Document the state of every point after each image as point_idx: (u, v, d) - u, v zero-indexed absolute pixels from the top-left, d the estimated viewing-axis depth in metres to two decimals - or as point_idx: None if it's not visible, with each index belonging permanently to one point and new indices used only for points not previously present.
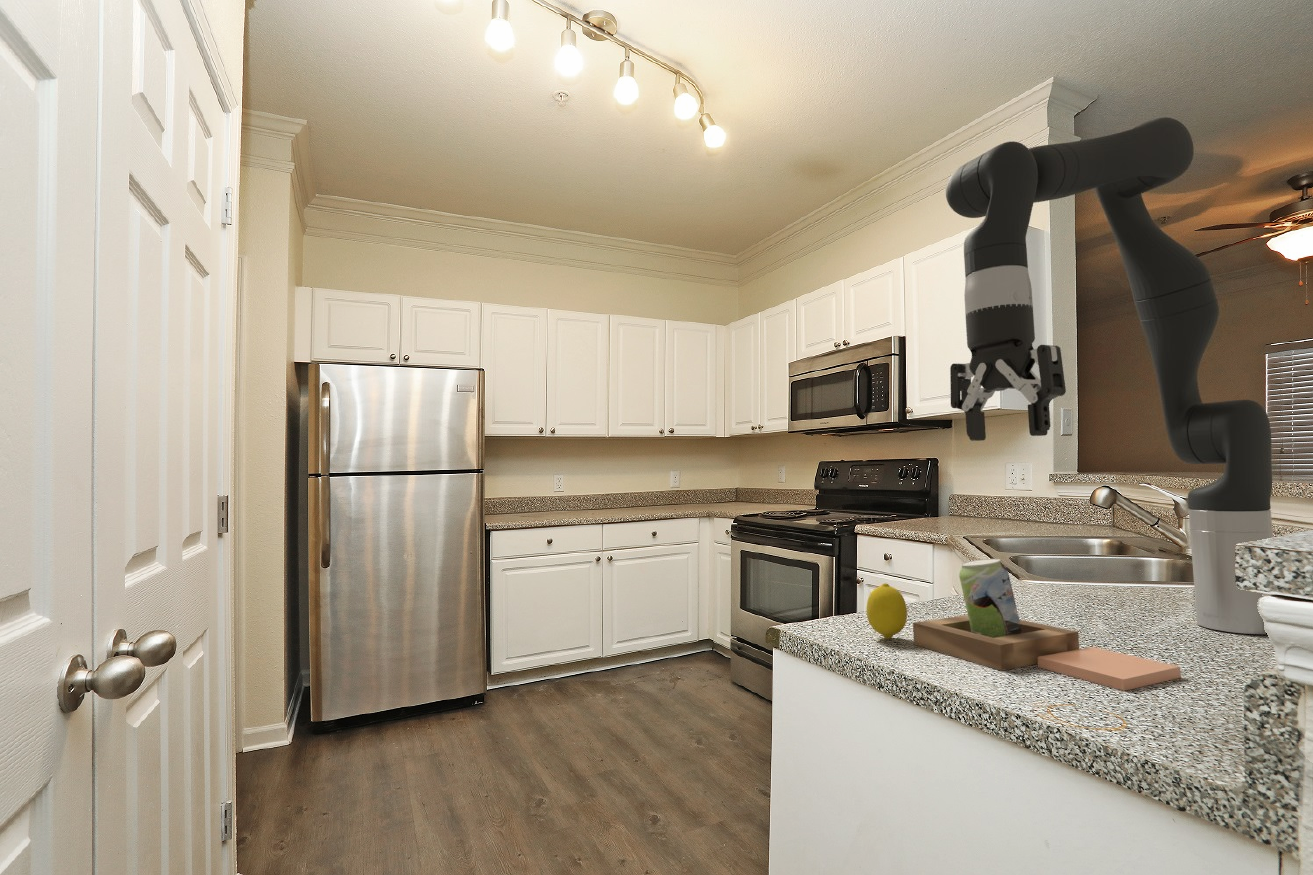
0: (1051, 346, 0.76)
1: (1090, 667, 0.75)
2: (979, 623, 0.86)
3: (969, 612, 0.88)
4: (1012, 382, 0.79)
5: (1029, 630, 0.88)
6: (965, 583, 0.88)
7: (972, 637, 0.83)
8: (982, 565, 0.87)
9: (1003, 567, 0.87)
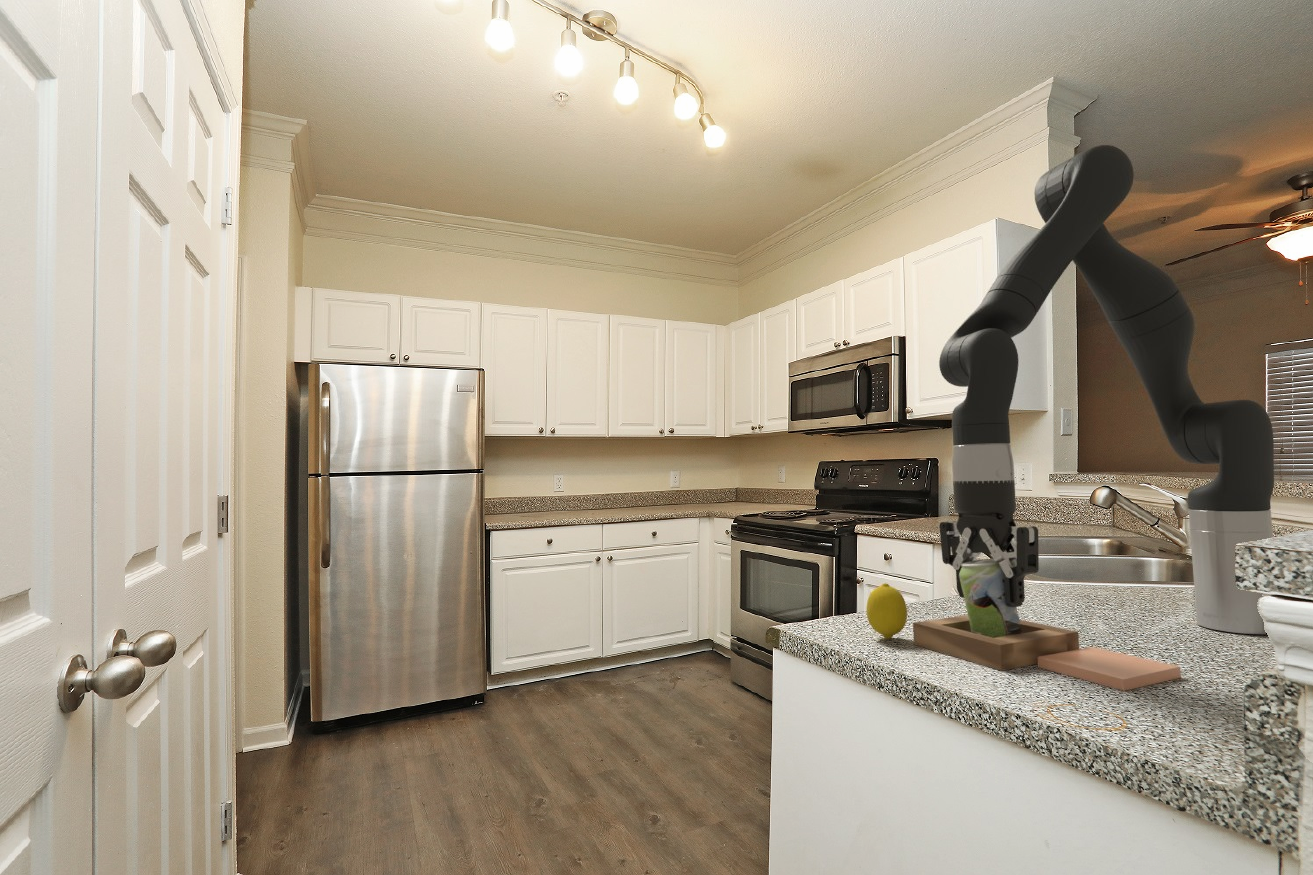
0: (1030, 528, 0.83)
1: (1090, 667, 0.75)
2: (979, 623, 0.86)
3: (969, 612, 0.88)
4: (992, 553, 0.86)
5: (1029, 630, 0.88)
6: (965, 583, 0.88)
7: (972, 637, 0.83)
8: (982, 565, 0.87)
9: None
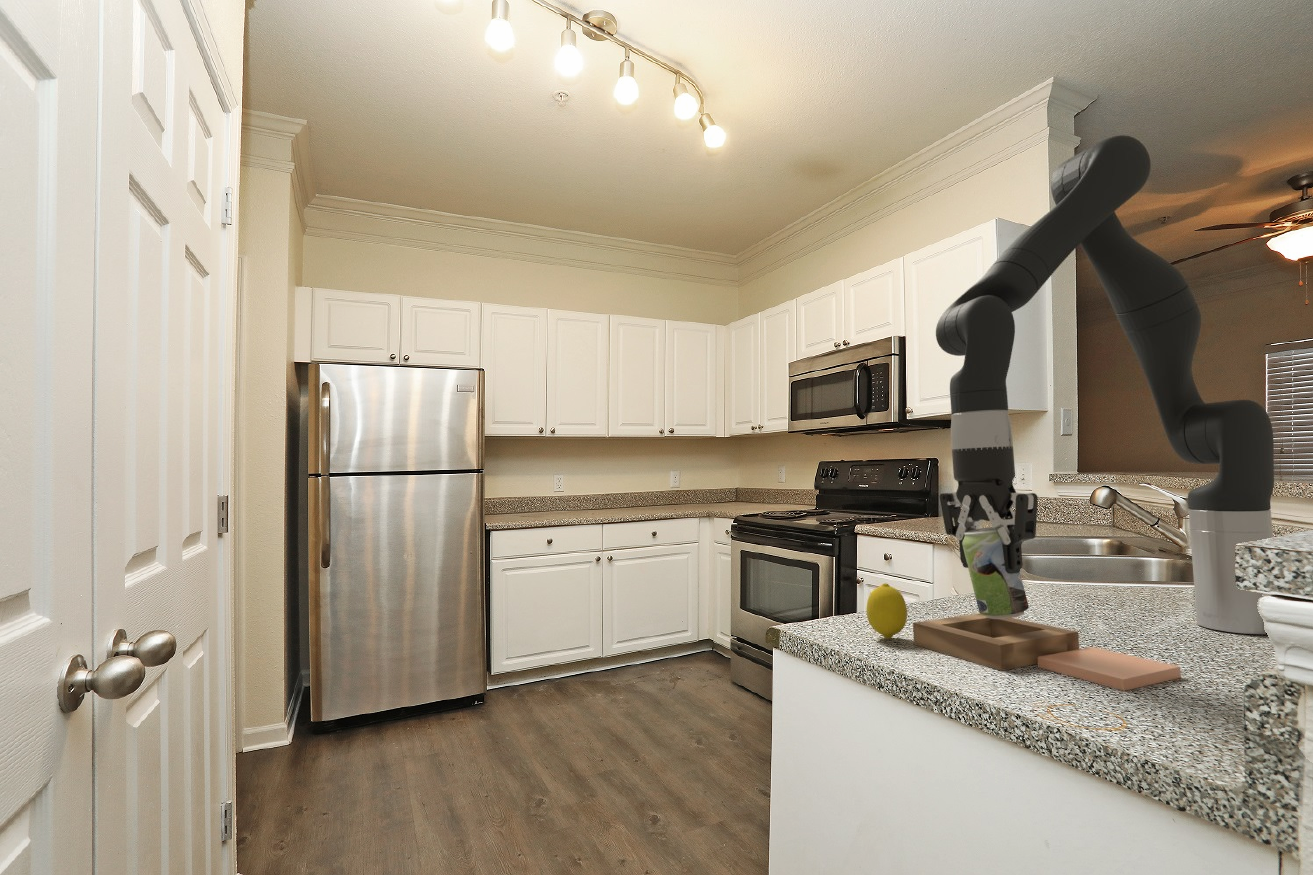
0: (1029, 495, 0.83)
1: (1090, 667, 0.75)
2: (984, 590, 0.86)
3: (973, 580, 0.88)
4: (991, 520, 0.86)
5: (1029, 630, 0.88)
6: (969, 552, 0.88)
7: (972, 637, 0.83)
8: (985, 533, 0.86)
9: None
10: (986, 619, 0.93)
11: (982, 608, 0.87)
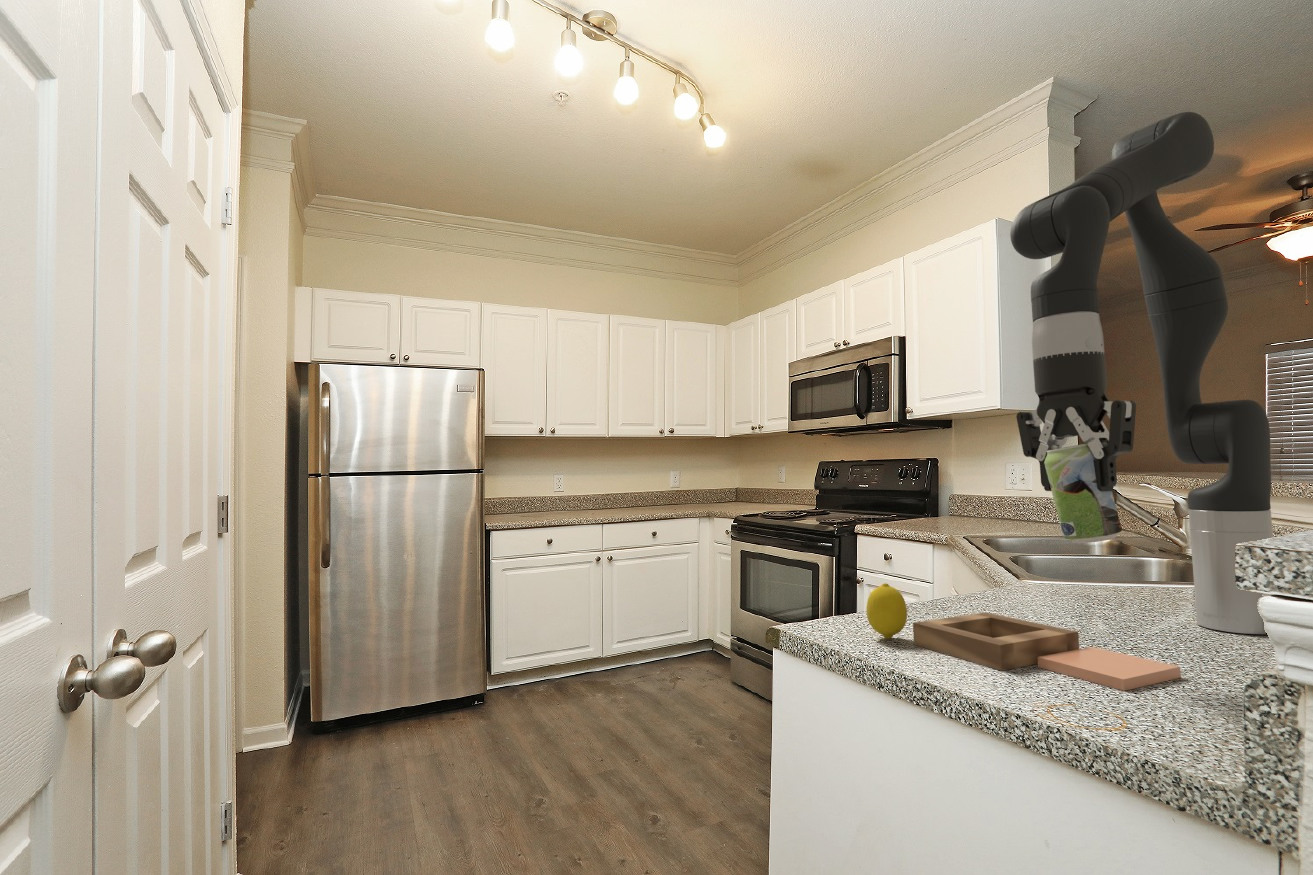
0: (1127, 402, 0.74)
1: (1090, 667, 0.75)
2: (1071, 511, 0.78)
3: (1058, 501, 0.80)
4: (1080, 433, 0.78)
5: (1029, 630, 0.88)
6: (1054, 469, 0.79)
7: (972, 637, 0.83)
8: (1073, 447, 0.78)
9: None
10: (986, 619, 0.93)
11: (1068, 532, 0.79)
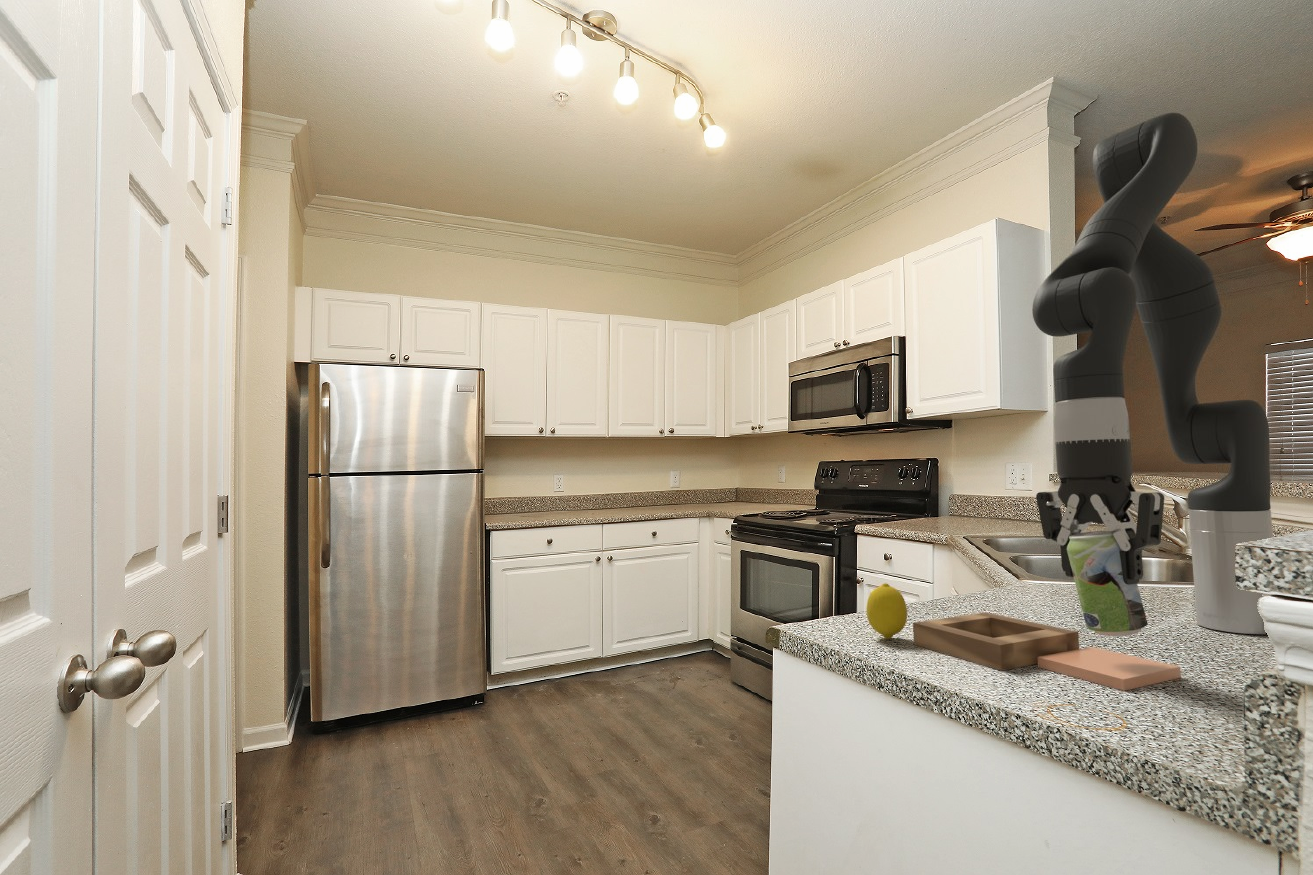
0: (1156, 495, 0.72)
1: (1090, 667, 0.75)
2: (1095, 603, 0.76)
3: (1081, 591, 0.77)
4: (1105, 522, 0.76)
5: (1029, 630, 0.88)
6: (1077, 558, 0.77)
7: (972, 637, 0.83)
8: (1098, 537, 0.76)
9: None
10: (986, 619, 0.93)
11: (1092, 623, 0.76)
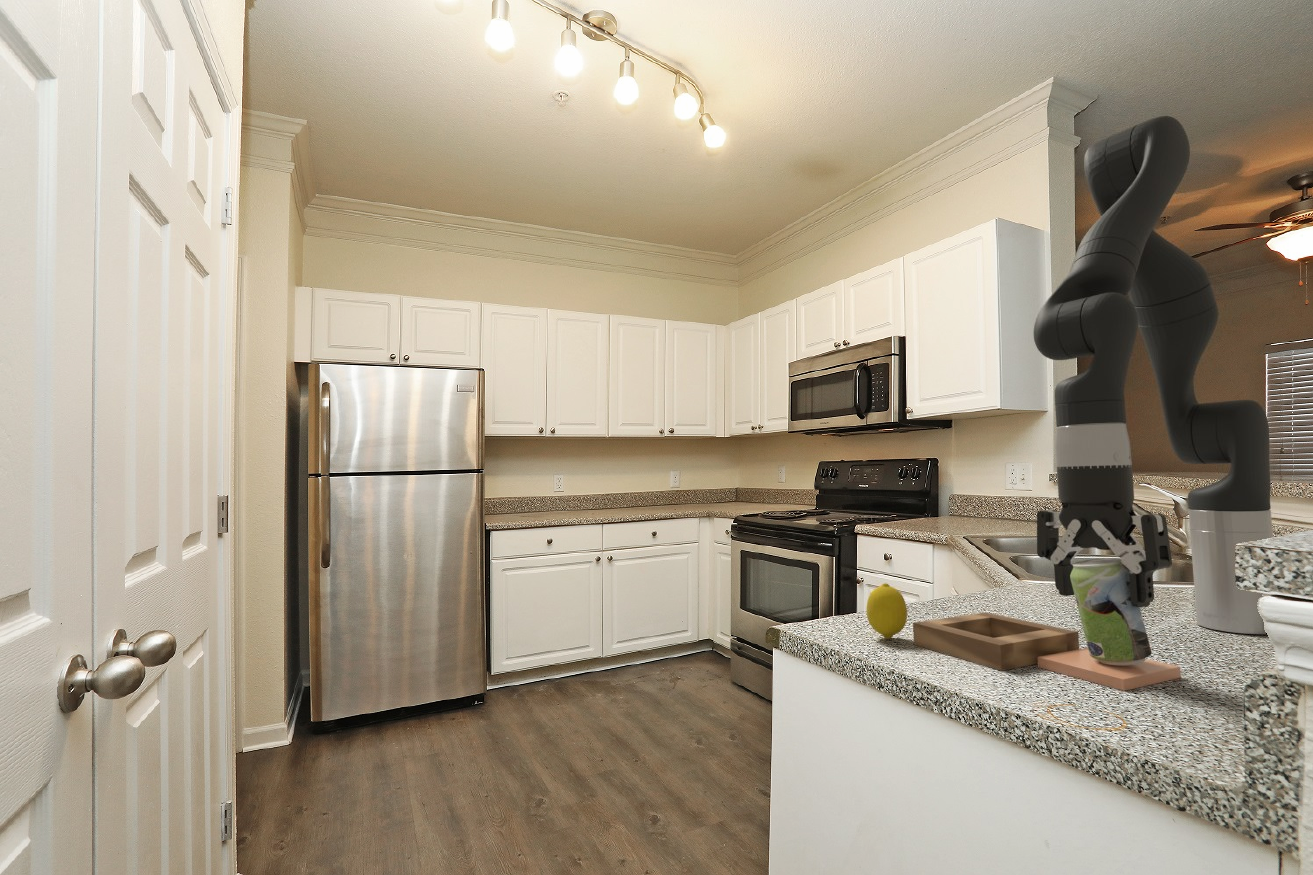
0: (1157, 516, 0.72)
1: (1090, 667, 0.75)
2: (1099, 632, 0.75)
3: (1085, 619, 0.77)
4: (1111, 547, 0.75)
5: (1029, 630, 0.88)
6: (1081, 587, 0.77)
7: (972, 637, 0.83)
8: (1101, 565, 0.75)
9: (1125, 567, 0.76)
10: (986, 619, 0.93)
11: (1096, 652, 0.76)
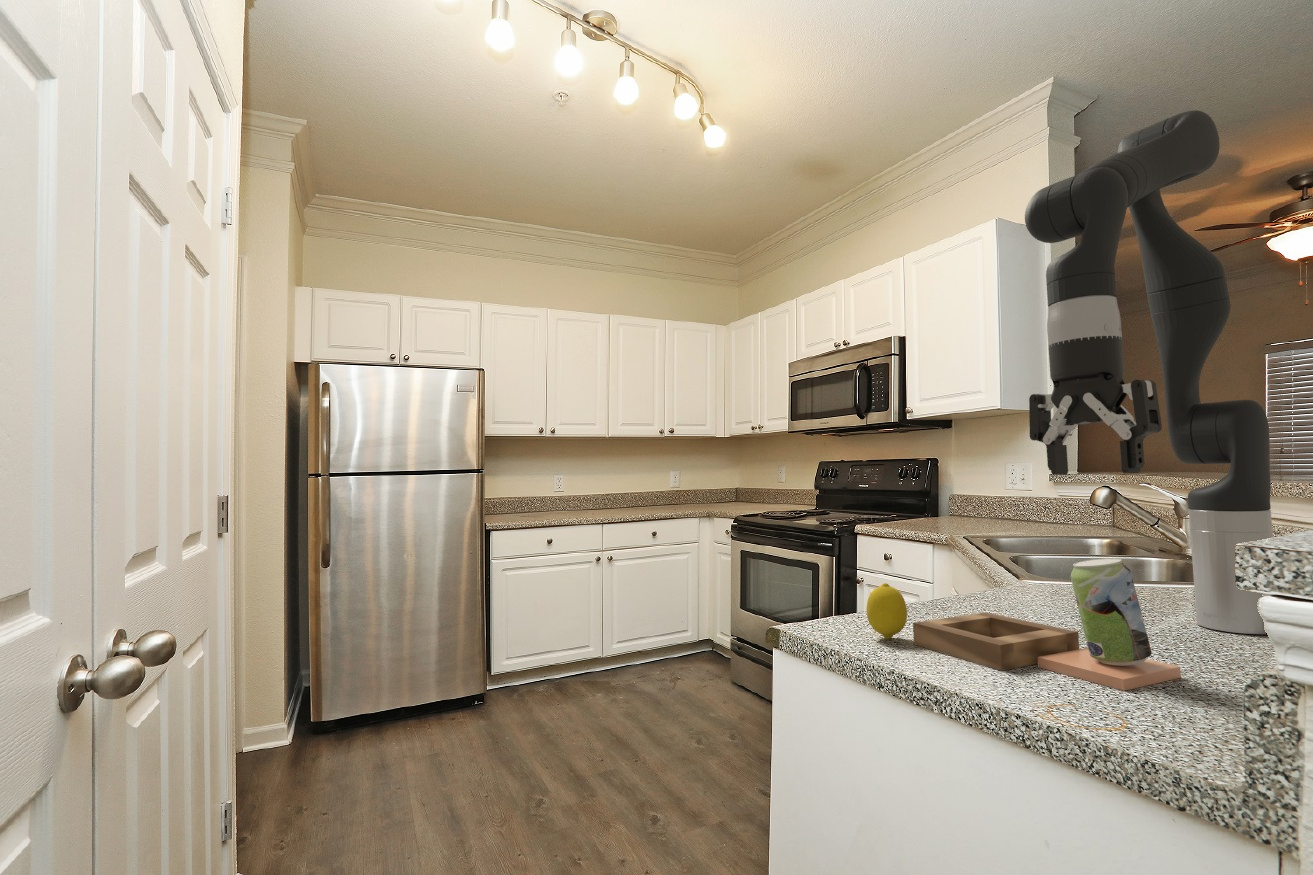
0: (1146, 381, 0.73)
1: (1090, 667, 0.75)
2: (1099, 632, 0.75)
3: (1085, 619, 0.77)
4: (1102, 417, 0.76)
5: (1029, 630, 0.88)
6: (1081, 587, 0.77)
7: (972, 637, 0.83)
8: (1102, 565, 0.75)
9: (1126, 568, 0.76)
10: (986, 619, 0.93)
11: (1096, 652, 0.76)
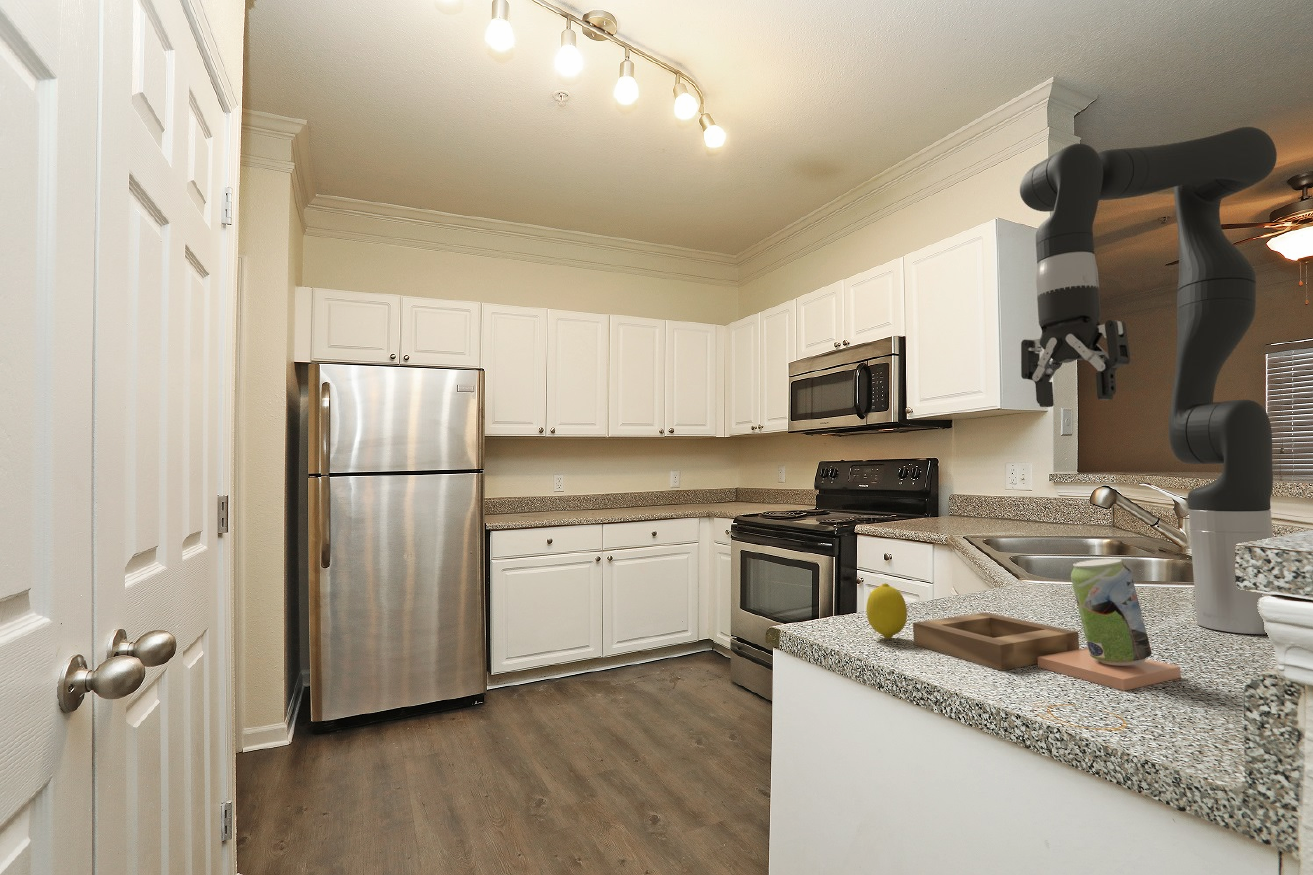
0: (1118, 321, 0.87)
1: (1090, 667, 0.75)
2: (1099, 632, 0.75)
3: (1085, 619, 0.77)
4: (1081, 353, 0.90)
5: (1029, 630, 0.88)
6: (1081, 587, 0.77)
7: (972, 637, 0.83)
8: (1102, 565, 0.75)
9: (1126, 568, 0.76)
10: (986, 619, 0.93)
11: (1096, 652, 0.76)
